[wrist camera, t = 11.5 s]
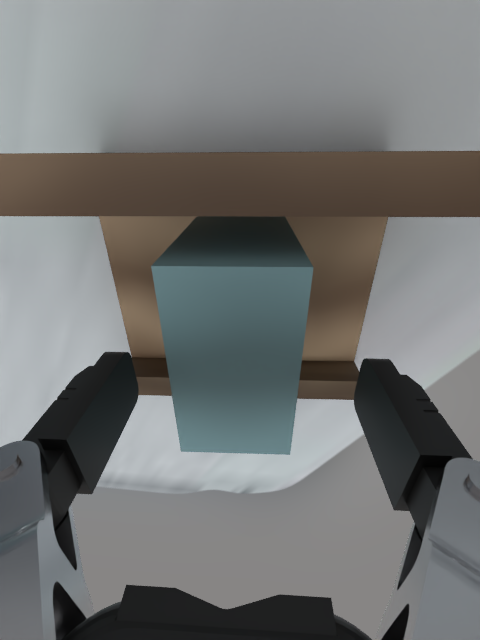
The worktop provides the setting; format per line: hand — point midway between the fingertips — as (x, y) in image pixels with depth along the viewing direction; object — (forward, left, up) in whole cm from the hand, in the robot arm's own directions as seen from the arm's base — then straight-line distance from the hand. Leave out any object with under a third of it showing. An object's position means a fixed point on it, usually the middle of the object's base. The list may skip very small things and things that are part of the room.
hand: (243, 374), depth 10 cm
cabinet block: (0, 0, -8) cm, 8 cm away
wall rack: (-1, 0, -9) cm, 9 cm away
